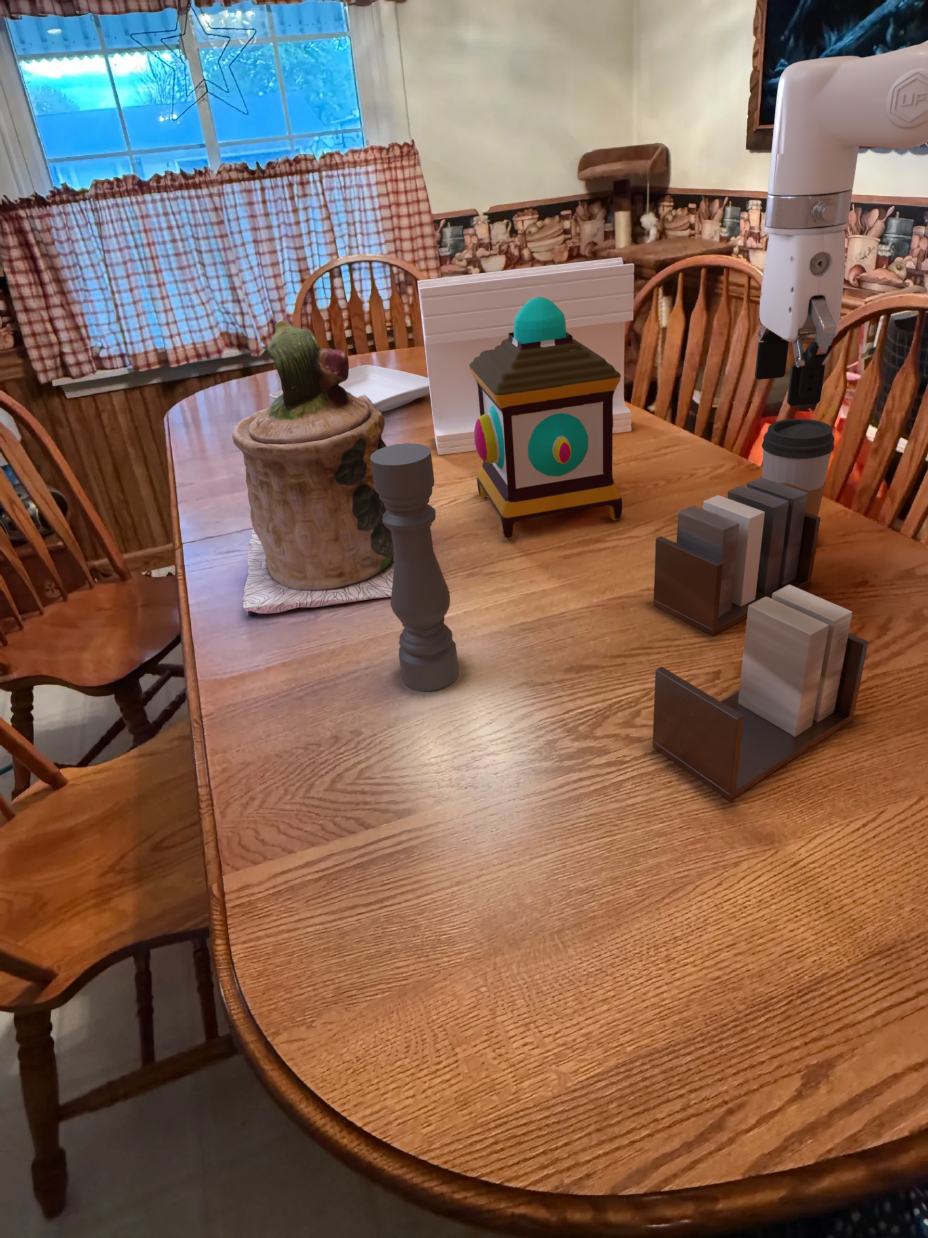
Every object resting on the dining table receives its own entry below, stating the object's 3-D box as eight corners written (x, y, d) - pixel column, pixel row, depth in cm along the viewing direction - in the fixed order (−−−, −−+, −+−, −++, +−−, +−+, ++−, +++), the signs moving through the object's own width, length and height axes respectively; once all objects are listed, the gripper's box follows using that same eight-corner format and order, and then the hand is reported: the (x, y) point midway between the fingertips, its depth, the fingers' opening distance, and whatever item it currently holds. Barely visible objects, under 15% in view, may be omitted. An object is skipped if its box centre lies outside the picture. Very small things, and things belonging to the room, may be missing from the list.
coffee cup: (743, 546, 107) (754, 435, 99) (763, 521, 113) (775, 414, 105) (809, 558, 103) (826, 443, 95) (827, 531, 108) (844, 421, 100)
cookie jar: (241, 623, 102) (169, 362, 85) (253, 539, 123) (198, 316, 106) (437, 592, 104) (405, 332, 87) (416, 515, 125) (387, 293, 108)
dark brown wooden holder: (749, 559, 104) (758, 471, 98) (810, 584, 97) (824, 492, 91) (653, 605, 97) (656, 513, 90) (712, 636, 90) (720, 539, 84)
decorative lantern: (497, 547, 113) (480, 321, 97) (467, 494, 130) (449, 294, 114) (635, 523, 116) (640, 299, 100) (588, 474, 132) (586, 275, 117)
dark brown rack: (773, 677, 83) (786, 574, 77) (853, 720, 76) (875, 612, 70) (651, 747, 76) (656, 640, 69) (729, 801, 69) (741, 689, 63)
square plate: (270, 410, 179) (266, 392, 177) (369, 378, 194) (366, 362, 192) (341, 433, 161) (338, 413, 159) (444, 396, 176) (443, 378, 174)
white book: (711, 579, 99) (718, 494, 93) (755, 599, 94) (765, 511, 88) (697, 586, 98) (703, 500, 92) (741, 606, 93) (749, 518, 87)
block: (619, 417, 154) (620, 257, 140) (631, 431, 148) (634, 264, 133) (435, 440, 153) (417, 280, 138) (438, 454, 146) (420, 288, 131)
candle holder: (453, 692, 85) (426, 465, 72) (396, 690, 87) (359, 467, 74) (463, 658, 91) (439, 441, 78) (409, 657, 92) (377, 443, 79)
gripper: (888, 218, 71) (856, 411, 80) (810, 201, 86) (790, 365, 95) (801, 227, 71) (779, 419, 80) (739, 208, 86) (725, 372, 95)
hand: (785, 390), depth 88 cm, fingers open, 9 cm apart
